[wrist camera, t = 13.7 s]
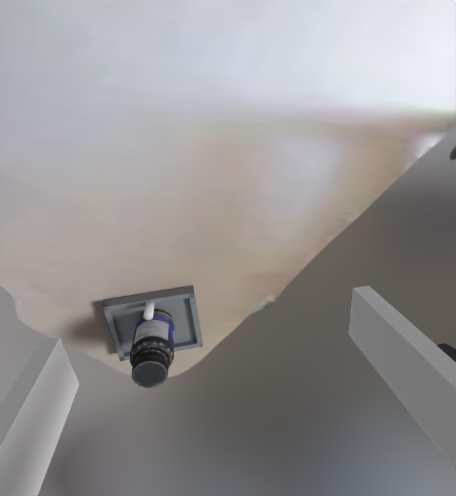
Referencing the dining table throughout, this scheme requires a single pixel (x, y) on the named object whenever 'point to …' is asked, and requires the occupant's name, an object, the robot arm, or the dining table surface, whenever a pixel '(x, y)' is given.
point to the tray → (132, 307)
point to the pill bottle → (152, 349)
